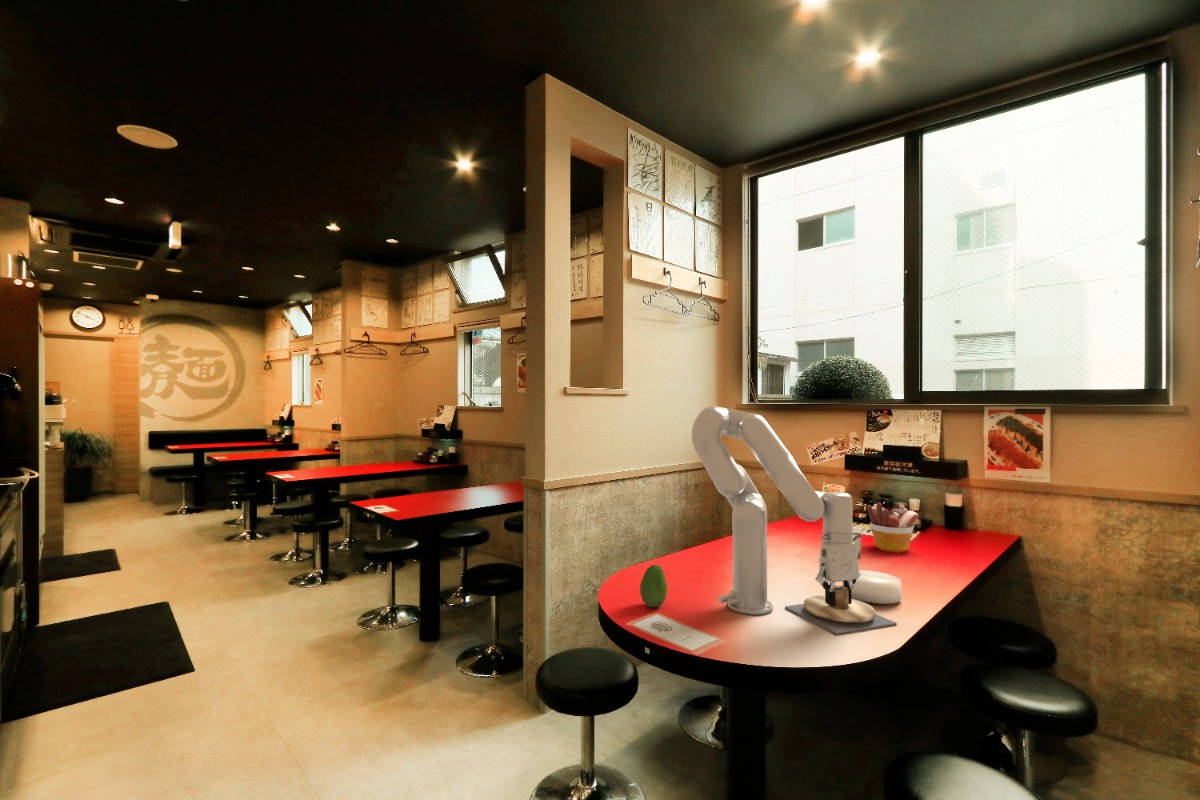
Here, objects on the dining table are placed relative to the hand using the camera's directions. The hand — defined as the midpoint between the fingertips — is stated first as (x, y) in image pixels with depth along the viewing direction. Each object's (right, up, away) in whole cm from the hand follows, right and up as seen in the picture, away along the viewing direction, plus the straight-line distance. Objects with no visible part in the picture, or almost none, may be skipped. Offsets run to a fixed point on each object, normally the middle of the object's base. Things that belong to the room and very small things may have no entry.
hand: (838, 602), depth 151 cm
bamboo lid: (0, -2, 0) cm, 2 cm away
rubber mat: (0, -4, 0) cm, 4 cm away
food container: (+29, -5, +57) cm, 64 cm away
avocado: (-50, -4, +7) cm, 51 cm away
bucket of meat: (+54, -6, +74) cm, 92 cm away
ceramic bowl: (+17, -4, +15) cm, 23 cm away
